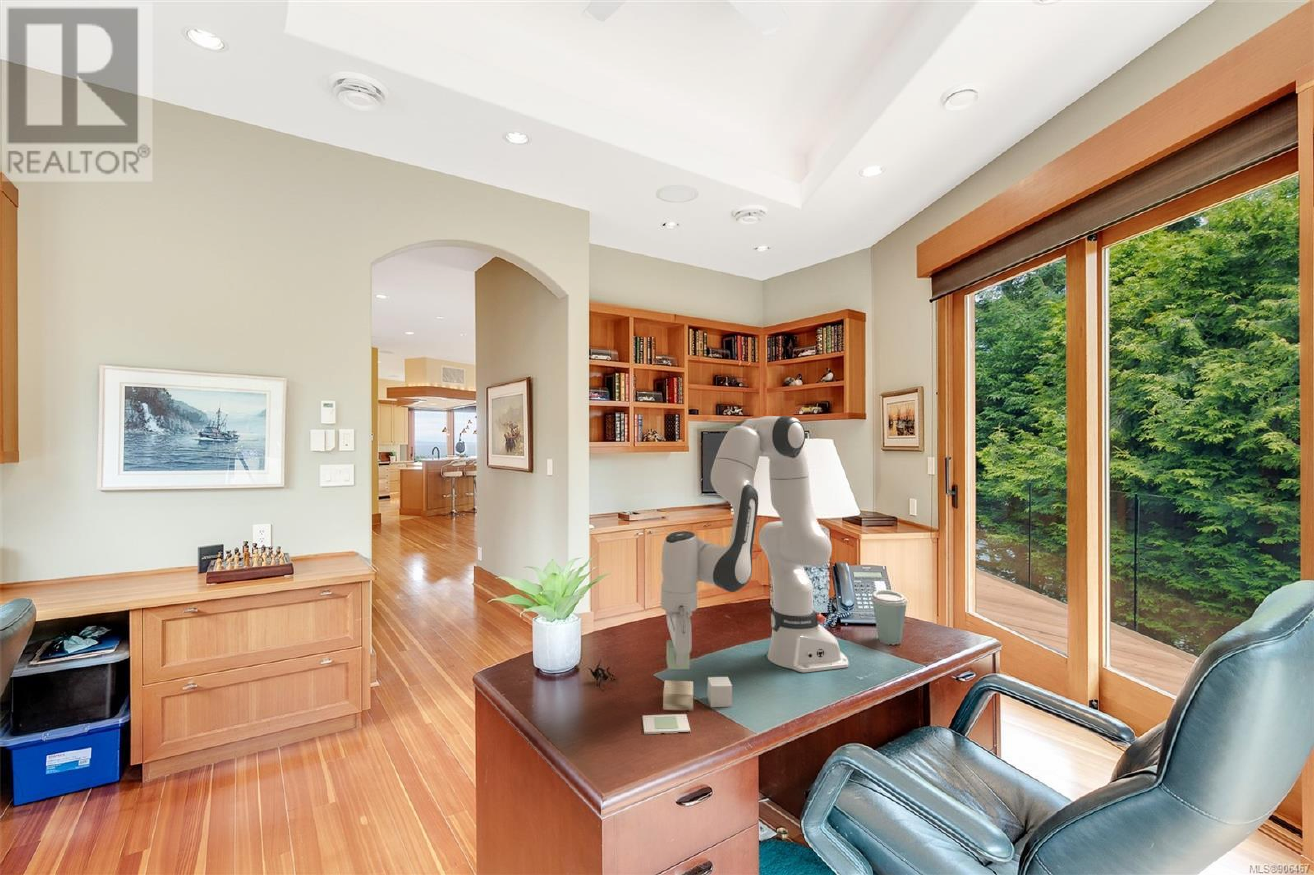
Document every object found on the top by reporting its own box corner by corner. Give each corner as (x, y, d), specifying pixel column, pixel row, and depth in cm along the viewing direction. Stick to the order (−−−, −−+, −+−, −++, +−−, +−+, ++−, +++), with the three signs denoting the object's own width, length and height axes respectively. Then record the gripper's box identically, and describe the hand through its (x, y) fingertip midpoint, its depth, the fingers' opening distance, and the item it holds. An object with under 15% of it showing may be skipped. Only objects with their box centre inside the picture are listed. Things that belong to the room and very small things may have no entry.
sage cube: (686, 660, 135) (687, 640, 135) (689, 668, 130) (689, 647, 130) (666, 660, 135) (666, 640, 135) (668, 669, 130) (668, 647, 130)
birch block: (693, 697, 136) (693, 681, 136) (693, 711, 129) (693, 694, 129) (664, 696, 136) (664, 680, 136) (663, 710, 130) (663, 693, 130)
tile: (686, 716, 126) (686, 713, 126) (690, 732, 119) (690, 730, 119) (642, 717, 126) (642, 715, 126) (644, 734, 119) (644, 731, 119)
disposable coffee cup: (913, 648, 169) (913, 599, 169) (877, 647, 169) (878, 598, 169) (898, 635, 179) (899, 589, 179) (865, 635, 180) (865, 589, 180)
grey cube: (727, 697, 136) (727, 676, 136) (732, 706, 131) (732, 685, 131) (707, 697, 136) (707, 677, 136) (711, 707, 131) (711, 686, 131)
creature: (624, 685, 145) (598, 672, 148) (628, 665, 144) (602, 653, 148) (609, 697, 138) (582, 684, 141) (613, 677, 137) (586, 664, 140)
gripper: (698, 614, 123) (697, 676, 123) (686, 589, 143) (685, 642, 143) (670, 614, 122) (669, 676, 122) (662, 589, 143) (661, 642, 142)
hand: (678, 658), depth 133 cm, fingers closed on sage cube, 5 cm apart
